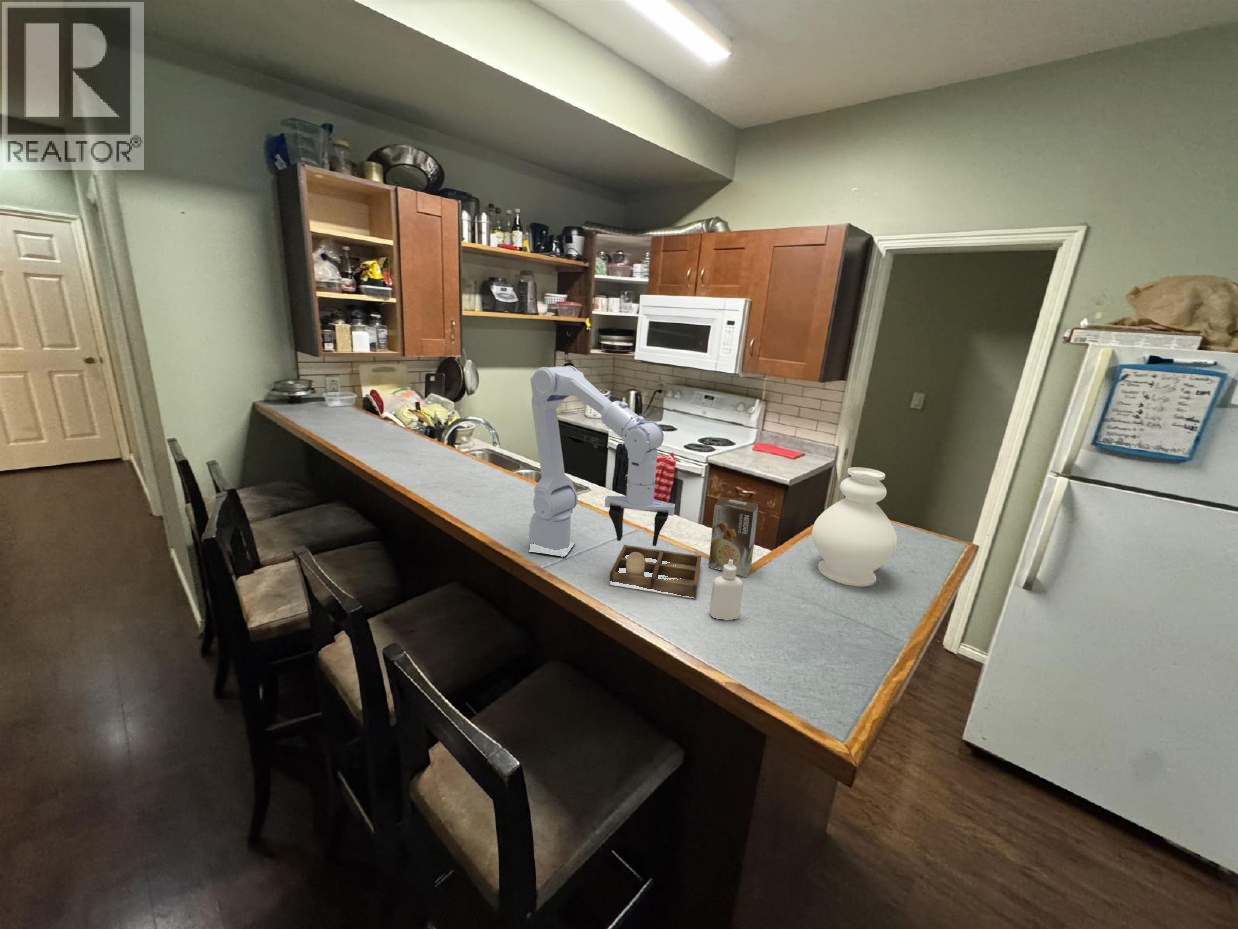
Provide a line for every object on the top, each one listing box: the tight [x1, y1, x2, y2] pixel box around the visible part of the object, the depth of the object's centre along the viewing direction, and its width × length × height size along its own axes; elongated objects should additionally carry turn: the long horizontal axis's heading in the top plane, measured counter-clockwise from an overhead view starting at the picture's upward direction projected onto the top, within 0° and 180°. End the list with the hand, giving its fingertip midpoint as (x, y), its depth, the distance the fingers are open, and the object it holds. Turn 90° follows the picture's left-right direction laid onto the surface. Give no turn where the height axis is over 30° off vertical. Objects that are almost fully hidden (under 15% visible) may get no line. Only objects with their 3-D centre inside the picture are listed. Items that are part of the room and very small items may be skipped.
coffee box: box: [708, 496, 760, 578], centre depth 112 cm, size 9×6×16 cm
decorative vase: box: [811, 466, 898, 588], centre depth 112 cm, size 18×18×25 cm
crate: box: [609, 544, 702, 599], centre depth 108 cm, size 18×14×3 cm
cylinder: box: [626, 552, 645, 576], centre depth 106 cm, size 4×4×6 cm
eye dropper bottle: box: [709, 559, 744, 621], centre depth 93 cm, size 4×6×12 cm
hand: (637, 541), depth 104 cm, fingers open, 7 cm apart
